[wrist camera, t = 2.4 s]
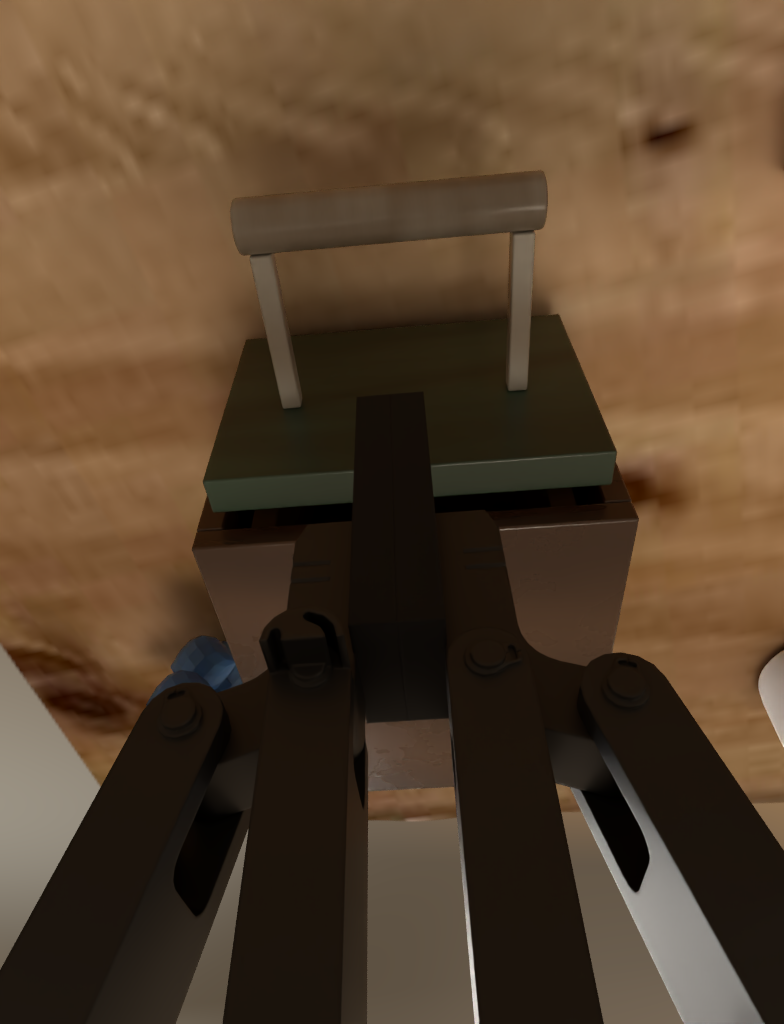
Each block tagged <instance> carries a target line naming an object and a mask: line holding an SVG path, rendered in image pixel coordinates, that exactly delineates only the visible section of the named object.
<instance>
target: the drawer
mask: <svg viewBox="0 0 784 1024" xmlns="http://www.w3.org/2000/svg"><path fill="white" fill-rule="evenodd" d="M547 206H548V192H547V182H546V177H545V174H544V172H543V171H541V170H538V171H527V172H516V173H505V174H494V175H483V176H472V177H461V178H451V179H440V180H429V181H418V182H407V183H396V184H385V185H374V186H363V187H353V188H342V189H331V190H320V191H309V192H298V193H287V194H276V195H265V196H255V197H244V198H235V199H233V200H232V202H231V208H230V217H231V226H232V232H233V237H234V241H235V244H236V247H237V249H238V251H239V253H240V254H241V255H244V256H245V255H251V256H250V263H251V267H252V272H253V277H254V281H255V286H256V290H257V295H258V299H259V304H260V308H261V313H262V317H263V322H264V326H265V331H266V336H267V338H263V339H251V340H246V342H245V345H244V348H243V352H242V355H241V358H240V361H239V365H238V368H237V371H236V374H235V378H234V381H233V384H232V388H231V391H230V394H229V397H228V401H227V404H226V407H225V410H224V414H223V417H222V420H221V423H220V427H219V430H218V433H217V437H216V440H215V443H214V446H213V450H212V453H211V456H210V459H209V463H208V466H207V469H206V473H205V476H204V479H203V484H204V487H205V490H206V493H207V496H208V499H209V502H210V505H211V508H212V511H213V512H215V513H216V512H230V511H244V510H254V515H253V520H252V525H251V528H257V527H272V526H286V525H300V524H315V523H329V522H344V521H352V505H353V479H354V452H355V426H356V399H357V397H360V396H373V395H385V394H397V393H409V392H422V391H423V393H424V403H425V413H426V423H427V434H428V444H429V454H430V464H431V474H432V485H433V495H434V505H435V513H446V512H459V511H473V510H485V511H486V512H488V511H502V510H517V509H531V508H545V507H560V506H574V505H577V504H576V501H575V498H574V495H573V491H572V488H571V487H584V486H598V485H610V484H612V480H613V473H614V467H615V461H616V455H617V451H616V448H615V446H614V444H613V441H612V439H611V436H610V434H609V432H608V429H607V427H606V425H605V422H604V420H603V418H602V415H601V413H600V410H599V408H598V406H597V403H596V401H595V399H594V396H593V394H592V392H591V389H590V387H589V384H588V382H587V380H586V377H585V375H584V373H583V370H582V368H581V366H580V363H579V361H578V358H577V356H576V354H575V351H574V349H573V347H572V344H571V342H570V339H569V337H568V335H567V332H566V330H565V328H564V325H563V323H562V321H561V318H560V316H559V315H558V314H556V315H543V316H531V308H532V288H533V269H534V249H535V232H534V230H540V229H542V228H543V227H544V225H545V222H546V217H547ZM507 232H510V247H509V283H508V318H507V319H495V320H482V321H470V322H458V323H446V324H434V325H422V326H409V327H397V328H385V329H373V330H361V331H349V332H336V333H324V334H312V335H300V336H290V331H289V326H288V321H287V316H286V311H285V306H284V301H283V295H282V290H281V285H280V280H279V275H278V270H277V265H276V260H275V255H274V253H279V252H290V251H302V250H313V249H324V248H336V247H347V246H359V245H370V244H381V243H393V242H404V241H416V240H427V239H438V238H450V237H461V236H472V235H484V234H495V233H507Z"/></svg>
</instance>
